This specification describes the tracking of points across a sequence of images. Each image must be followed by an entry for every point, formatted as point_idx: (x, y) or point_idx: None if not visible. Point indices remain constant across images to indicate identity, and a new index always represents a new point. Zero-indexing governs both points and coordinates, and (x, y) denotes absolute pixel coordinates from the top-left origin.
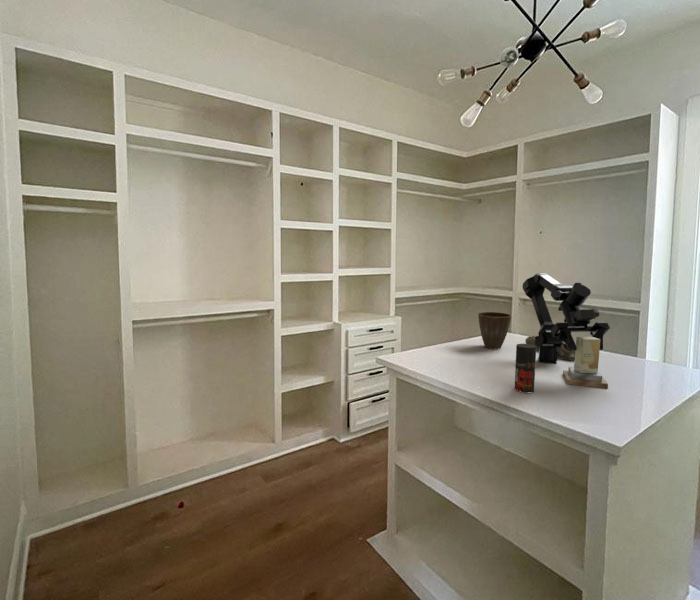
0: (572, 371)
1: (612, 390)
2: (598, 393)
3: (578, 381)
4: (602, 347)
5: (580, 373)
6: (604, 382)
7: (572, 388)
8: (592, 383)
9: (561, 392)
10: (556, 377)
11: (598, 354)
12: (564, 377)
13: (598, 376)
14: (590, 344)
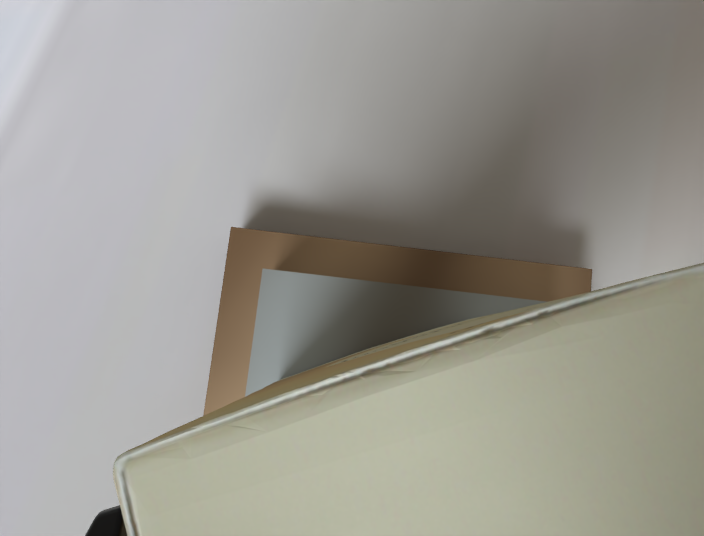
0: None
1: (218, 183)
2: (367, 71)
3: (489, 259)
4: (101, 532)
5: None
6: (249, 267)
7: (552, 153)
8: (366, 243)
9: (663, 23)
10: None
11: (245, 397)
12: None
13: (300, 274)
14: (448, 332)
